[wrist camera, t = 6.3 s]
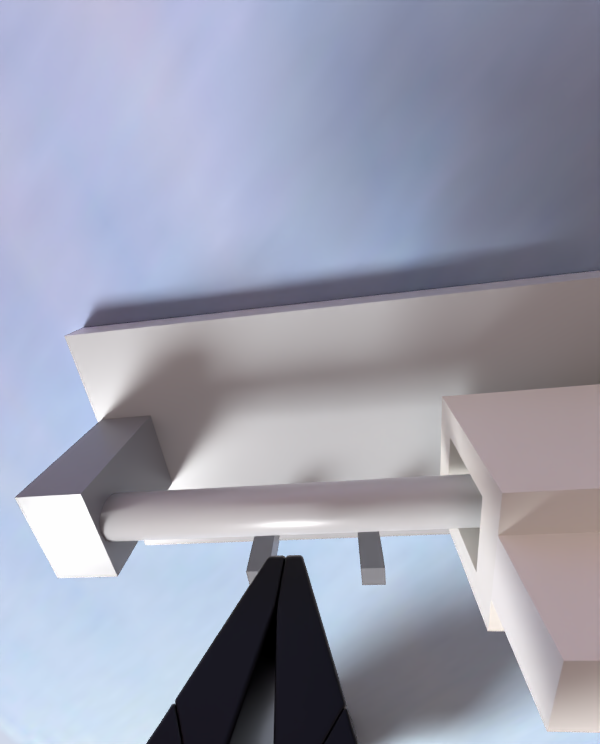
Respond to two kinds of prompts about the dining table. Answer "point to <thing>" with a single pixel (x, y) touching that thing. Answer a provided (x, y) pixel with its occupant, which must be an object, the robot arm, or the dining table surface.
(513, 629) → the white slider block
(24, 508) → the slider rail board
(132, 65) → the dining table surface
